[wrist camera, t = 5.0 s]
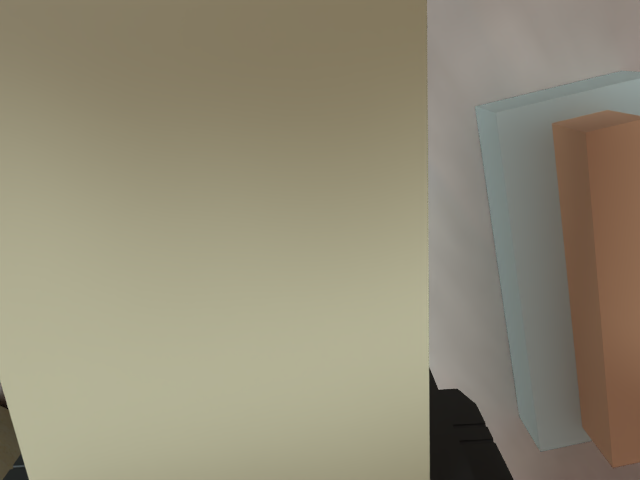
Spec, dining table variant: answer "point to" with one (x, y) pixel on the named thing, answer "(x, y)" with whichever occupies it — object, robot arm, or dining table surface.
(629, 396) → the fulcrum
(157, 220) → the batten
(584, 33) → the dining table surface
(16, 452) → the planter bowl
